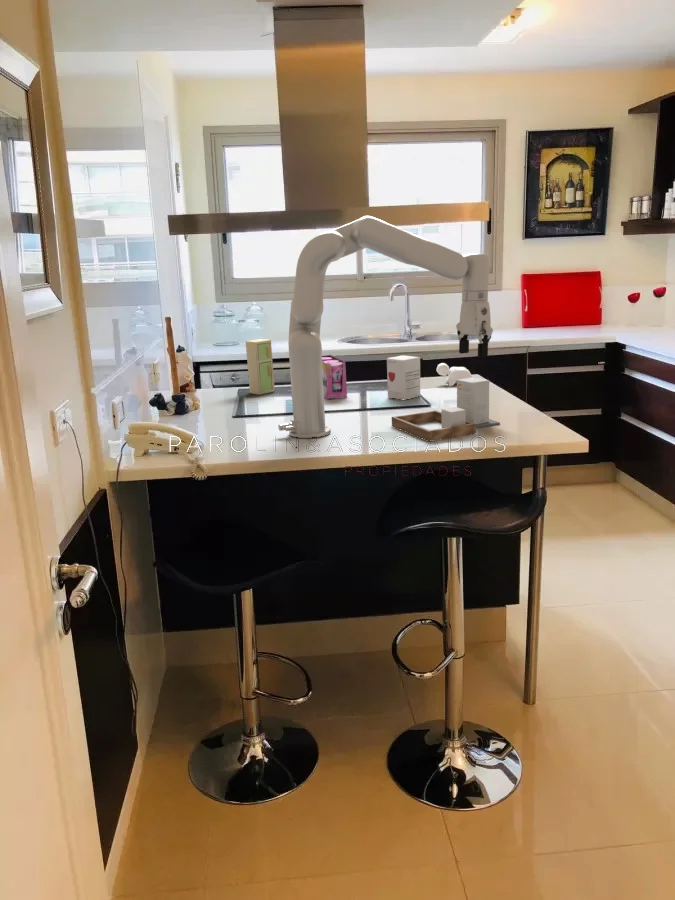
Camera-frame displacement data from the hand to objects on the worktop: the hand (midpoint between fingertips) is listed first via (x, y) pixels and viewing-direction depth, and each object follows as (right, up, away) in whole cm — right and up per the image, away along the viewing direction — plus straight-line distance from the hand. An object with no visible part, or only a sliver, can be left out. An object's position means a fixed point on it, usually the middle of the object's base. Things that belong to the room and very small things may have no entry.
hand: (473, 354), depth 211 cm
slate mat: (+1, -20, +6) cm, 21 cm away
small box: (+1, -20, +6) cm, 21 cm away
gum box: (-44, -7, +64) cm, 77 cm away
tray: (-12, -23, 0) cm, 26 cm away
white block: (-7, -24, -4) cm, 25 cm away
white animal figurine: (+6, -2, +70) cm, 71 cm away
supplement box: (-16, -9, +49) cm, 52 cm away
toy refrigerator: (-71, -6, +72) cm, 101 cm away
